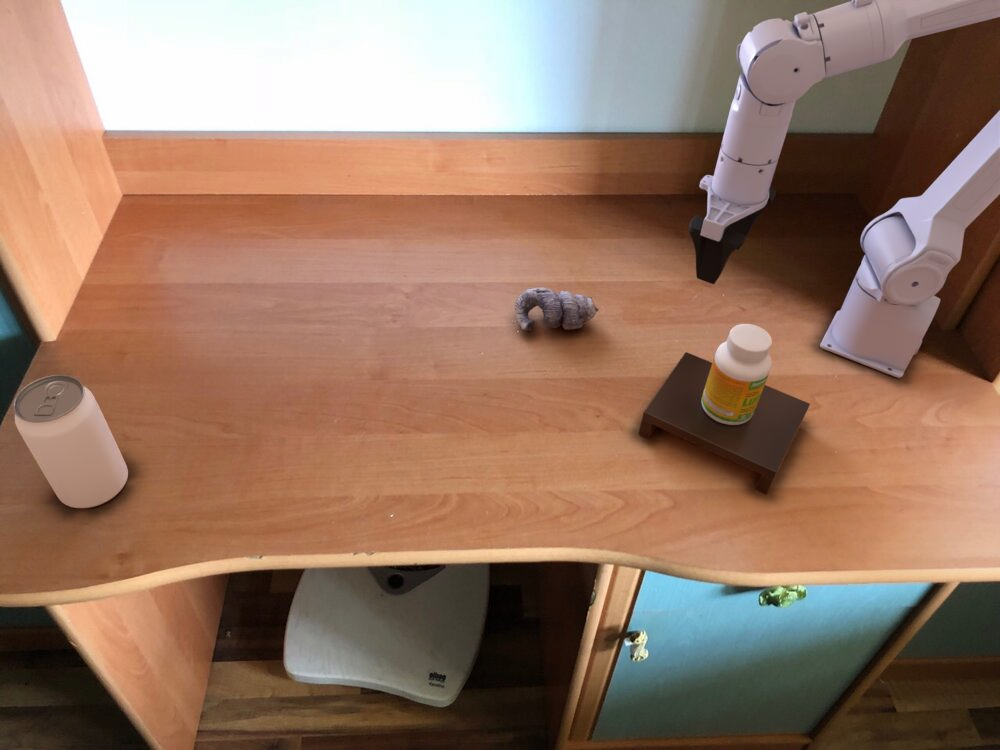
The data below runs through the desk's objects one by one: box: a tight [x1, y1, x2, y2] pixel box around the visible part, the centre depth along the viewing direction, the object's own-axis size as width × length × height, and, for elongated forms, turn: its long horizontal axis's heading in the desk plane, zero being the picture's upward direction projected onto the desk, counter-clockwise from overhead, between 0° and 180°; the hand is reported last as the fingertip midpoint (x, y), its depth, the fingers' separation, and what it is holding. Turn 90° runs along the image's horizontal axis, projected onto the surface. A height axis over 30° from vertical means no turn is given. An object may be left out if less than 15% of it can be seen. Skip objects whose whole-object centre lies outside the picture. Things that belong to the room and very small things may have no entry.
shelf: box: [638, 351, 811, 495], centre depth 83 cm, size 14×11×4 cm
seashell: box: [514, 286, 600, 331], centre depth 94 cm, size 5×5×10 cm
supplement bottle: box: [702, 323, 773, 425], centre depth 78 cm, size 5×5×10 cm
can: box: [12, 374, 129, 509], centre depth 72 cm, size 6×6×12 cm
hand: (718, 262), depth 88 cm, fingers open, 7 cm apart
